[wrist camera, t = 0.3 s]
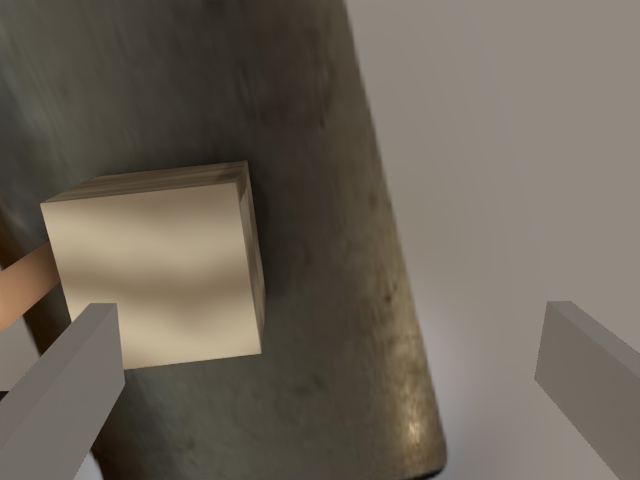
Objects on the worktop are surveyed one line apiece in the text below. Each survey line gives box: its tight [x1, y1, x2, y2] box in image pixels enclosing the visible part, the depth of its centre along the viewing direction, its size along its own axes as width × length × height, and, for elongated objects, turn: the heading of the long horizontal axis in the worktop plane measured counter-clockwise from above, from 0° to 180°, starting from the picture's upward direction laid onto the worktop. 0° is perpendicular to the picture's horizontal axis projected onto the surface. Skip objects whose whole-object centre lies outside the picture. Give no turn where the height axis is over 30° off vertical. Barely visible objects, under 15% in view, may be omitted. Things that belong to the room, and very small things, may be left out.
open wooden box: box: [40, 161, 266, 370], centre depth 37 cm, size 12×12×10 cm
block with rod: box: [0, 240, 61, 331], centre depth 37 cm, size 6×15×11 cm, turn 95°
